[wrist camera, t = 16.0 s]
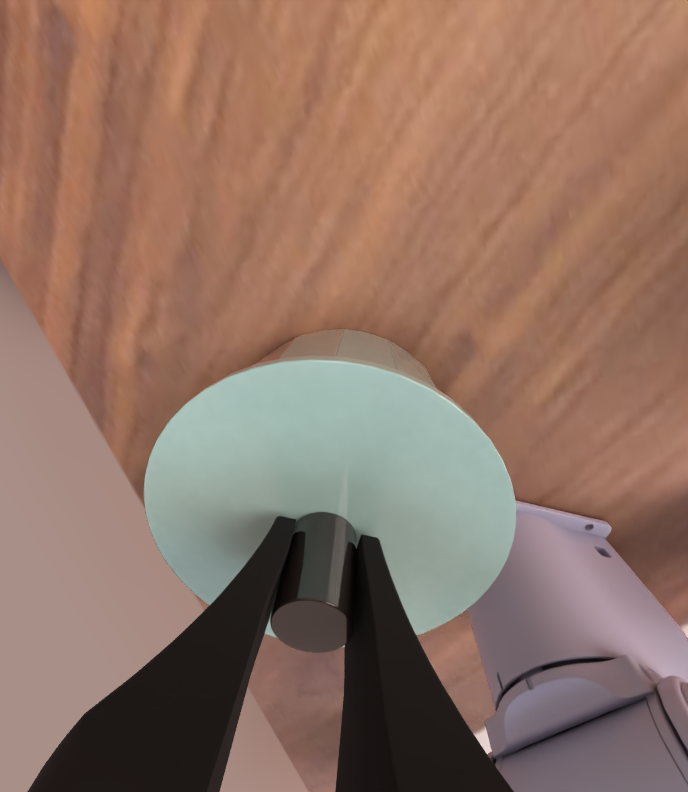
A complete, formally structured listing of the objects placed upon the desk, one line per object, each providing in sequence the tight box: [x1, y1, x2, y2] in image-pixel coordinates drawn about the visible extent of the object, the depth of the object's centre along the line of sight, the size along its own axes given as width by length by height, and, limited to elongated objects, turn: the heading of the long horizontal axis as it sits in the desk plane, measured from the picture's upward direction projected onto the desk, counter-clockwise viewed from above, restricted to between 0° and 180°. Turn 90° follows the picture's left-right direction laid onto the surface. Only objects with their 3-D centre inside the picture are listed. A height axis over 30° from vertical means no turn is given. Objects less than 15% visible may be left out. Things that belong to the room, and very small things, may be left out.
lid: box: [144, 355, 516, 653], centre depth 11 cm, size 14×14×4 cm
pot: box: [259, 329, 437, 389], centre depth 17 cm, size 12×12×6 cm
